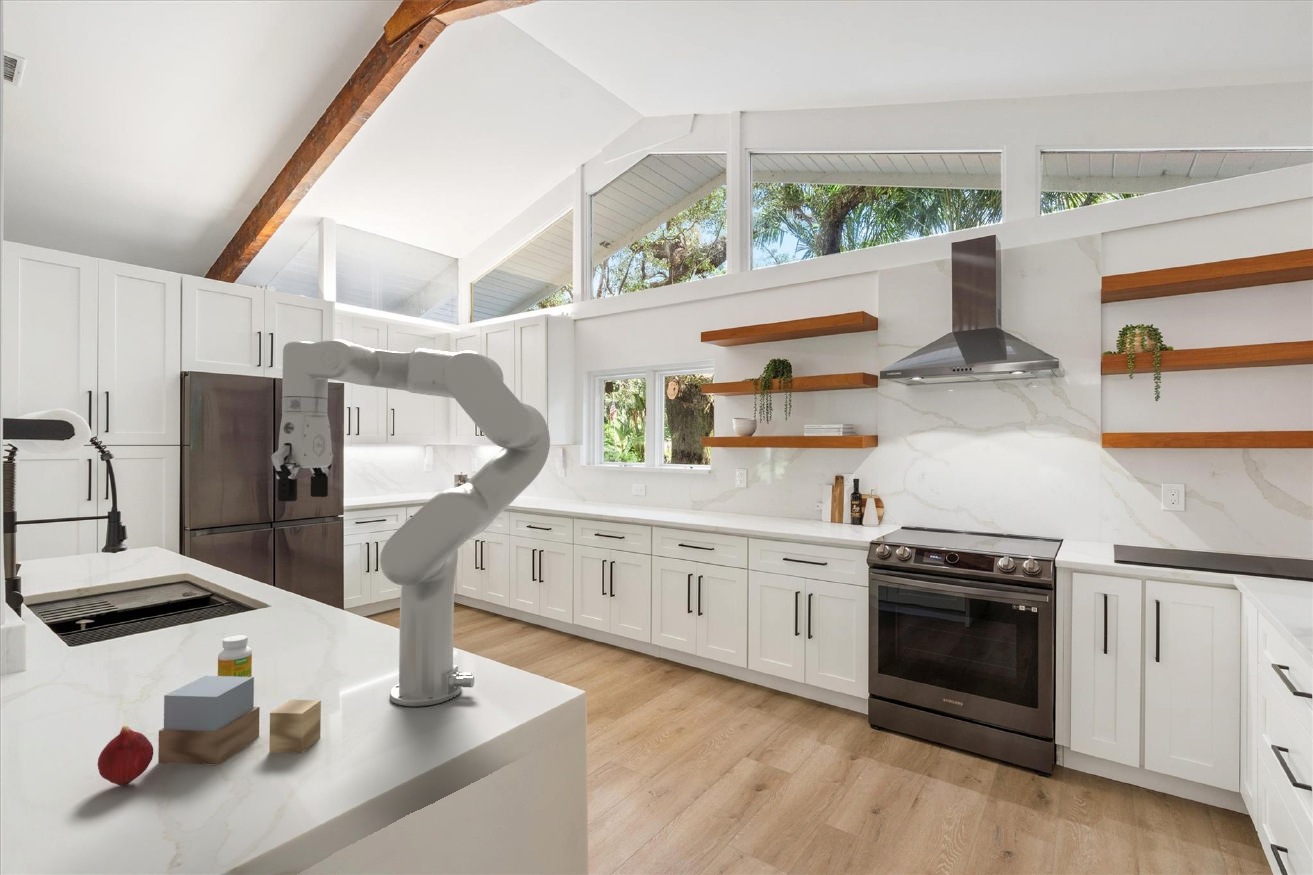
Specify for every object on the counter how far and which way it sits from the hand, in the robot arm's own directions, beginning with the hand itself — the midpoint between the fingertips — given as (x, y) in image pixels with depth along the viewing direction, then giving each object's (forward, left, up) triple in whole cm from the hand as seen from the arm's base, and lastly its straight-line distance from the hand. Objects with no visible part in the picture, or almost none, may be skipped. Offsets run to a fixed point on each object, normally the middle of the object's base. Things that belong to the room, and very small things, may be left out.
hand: (303, 498), depth 121 cm
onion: (+4, +33, -36) cm, 49 cm away
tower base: (0, +23, -37) cm, 43 cm away
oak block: (-12, +20, -36) cm, 43 cm away
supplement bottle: (+13, -1, -36) cm, 39 cm away
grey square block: (0, +23, -32) cm, 39 cm away
